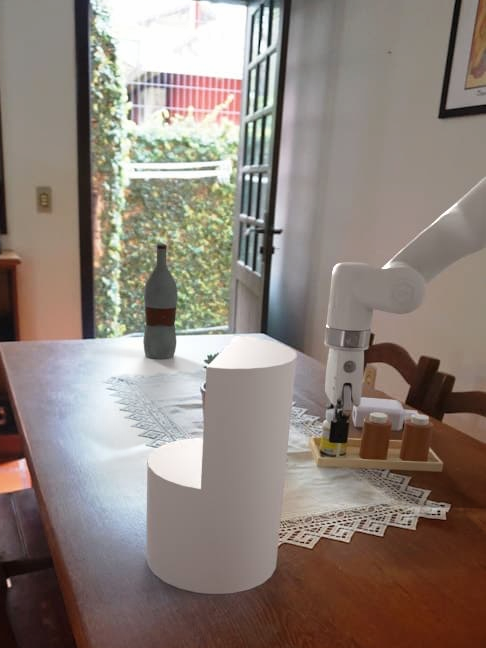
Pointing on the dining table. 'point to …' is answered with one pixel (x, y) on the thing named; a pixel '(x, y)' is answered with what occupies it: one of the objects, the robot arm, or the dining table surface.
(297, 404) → the dining table surface
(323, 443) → the supplement bottle
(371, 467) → the tray
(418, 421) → the amber bottle
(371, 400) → the charger
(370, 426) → the amber bottle
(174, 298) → the grey green soda bottle
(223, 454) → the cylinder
